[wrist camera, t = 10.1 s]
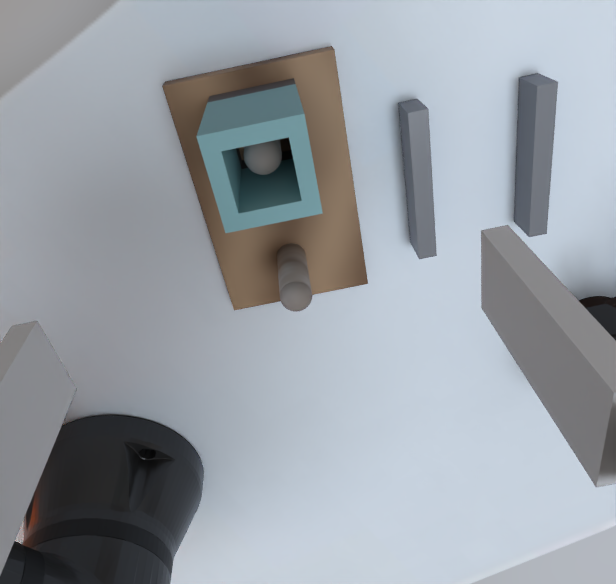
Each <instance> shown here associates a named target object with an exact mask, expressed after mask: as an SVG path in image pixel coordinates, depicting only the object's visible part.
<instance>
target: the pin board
mask: <svg viewBox="0 0 616 584" xmlns="http://www.w3.org/2000/svg"><path fill="white" fill-rule="evenodd" d="M292 78H294V81H295V84H296V87H297V91H298V94H299V97H300V101H301V104H302V107H303V111H304V114H305V119H306V125H307V130H308V136H309V141H310V147H311V152H312V158H313V163H314V169H315V174H316V179H317V185H318V190H319V196H320V201H321V207H322V212H323V214H318V215H313V216H308V217H303V218H298V219H293V220H288V221H284V222H279V223H274V224H269V225H264V226H259V227H254V228H249V229H244V230H240V231H235V232H230V233H225V230H224V226H223V223H222V220H221V216H220V213H219V210H218V206H217V203H216V200H215V196H214V193H213V190H212V186H211V183H210V180H209V177H208V173H207V170H206V167H205V163H204V160H203V157H202V153H201V150H200V147H199V143H198V140H197V137H196V136H197V133H198V130H199V127H200V124H201V121H202V118H203V114H204V111H205V108H206V105H207V102H208V99H209V96H212V95H217V94H222V93H226V92H231V91H236V90H240V89H245V88H250V87H254V86H259V85H264V84H269V83H273V82H278V81H283V80H287V79H292ZM162 87H163V90H164V93H165V96H166V99H167V102H168V105H169V108H170V112H171V115H172V118H173V121H174V124H175V127H176V130H177V133H178V136H179V140H180V143H181V146H182V149H183V152H184V155H185V158H186V161H187V165H188V168H189V171H190V174H191V177H192V180H193V183H194V186H195V189H196V193H197V196H198V199H199V202H200V205H201V208H202V211H203V214H204V218H205V221H206V224H207V227H208V230H209V233H210V236H211V239H212V243H213V246H214V249H215V252H216V255H217V258H218V261H219V264H220V267H221V271H222V274H223V277H224V280H225V283H226V286H227V289H228V292H229V296H230V299H231V302H232V305H233V308H234V310H238V309H243V308H248V307H253V306H258V305H263V304H268V303H273V302H278V301H281V303H282V304H283V306H284V307H285V308H287V309H288V310H291V311H301V310H303V309H305V308H306V307H307V306H308V305H309V304H310V302H311V300H312V295H313V294H318V293H323V292H328V291H333V290H338V289H343V288H348V287H353V286H358V285H363V284H368V281H367V274H366V267H365V260H364V253H363V246H362V239H361V232H360V225H359V218H358V211H357V204H356V197H355V190H354V183H353V176H352V170H351V163H350V156H349V149H348V142H347V135H346V128H345V121H344V114H343V107H342V100H341V93H340V86H339V79H338V72H337V65H336V58H335V51H334V48H333V47H332V46H331V47H326V48H321V49H317V50H312V51H307V52H303V53H298V54H293V55H289V56H284V57H279V58H274V59H270V60H265V61H260V62H256V63H251V64H246V65H242V66H237V67H232V68H228V69H223V70H218V71H214V72H209V73H204V74H200V75H195V76H190V77H186V78H181V79H176V80H172V81H167V82H165V83H164V85H163V86H162ZM239 150H240V154H241V158H242V160H244V161H245V163H246V165H247V167H248V168H249V169H250V170H251V171H252V172H254V173H256V174H259V175H267V174H270V173H272V172H274V171H275V170H276V169H277V168H278V167H279V165H280V163H281V160H282V152H285V151H289V150H291V145H290V140H289V137H288V138H283V139H278V140H274V141H269V142H264V143H259V144H254V145H250V146H245V147H240V148H239Z"/></svg>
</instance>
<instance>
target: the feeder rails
mask: <svg viewBox="0 0 616 584" xmlns="http://www.w3.org/2000/svg"><path fill="white" fill-rule="evenodd" d="M557 87H558V82H557V81H555V80H552V79H550V78H548V77H545V76H543V75H541V74H534V75H529V76H524V77H519V99H518V127H517V155H516V182H515V210H514V222H515V223H516V224H517V225H518V226H519V227H520V228H521V229H522V230H523V231H524V232H525V233H526V234H527V236H528V237H532V236H537V235H542V234H547V221H548V207H549V194H550V181H551V167H552V154H553V140H554V127H555V114H556V100H557ZM398 104H399V116H400V127H401V139H402V151H403V162H404V174H405V186H406V197H407V209H408V221H409V232H410V243H411V245H412V246H413V248H414V250H415V252H416V254H417V256H418V258H419V259H423V258H428V257H433V256H437V255H436V237H435V219H434V201H433V183H432V166H431V148H430V130H429V112H428V108H427V107H426V106H425V105H423V104H422V103H421V102H420V101H419V100H418V99H415V100H410V101H405V102H400V103H398Z"/></svg>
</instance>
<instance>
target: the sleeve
mask: <svg viewBox="0 0 616 584" xmlns="http://www.w3.org/2000/svg"><path fill="white" fill-rule="evenodd" d="M196 137H197V140H198V143H199V147H200V150H201V153H202V157H203V160H204V163H205V167H206V170H207V173H208V177H209V180H210V183H211V186H212V190H213V193H214V196H215V200H216V203H217V206H218V210H219V213H220V216H221V220H222V223H223V226H224V230H225V233H230V232H235V231H240V230H244V229H249V228H254V227H259V226H264V225H269V224H274V223H279V222H284V221H288V220H293V219H298V218H303V217H308V216H313V215H318V214H323V212H322V207H321V201H320V196H319V190H318V185H317V179H316V174H315V169H314V163H313V158H312V152H311V147H310V141H309V136H308V130H307V125H306V119H305V114H304V111H303V107H302V104H301V101H300V97H299V94H298V91H297V87H296V84H295V81H294V78H292V79H287V80H283V81H278V82H273V83H269V84H264V85H259V86H254V87H250V88H245V89H240V90H236V91H231V92H226V93H222V94H217V95H212V96H209V99H208V102H207V105H206V108H205V111H204V114H203V118H202V121H201V124H200V127H199V130H198V133H197V136H196ZM288 137H289V140H290V145H291V150H289V151H285V152H282V160H281V163H280V165H279V167H278V168H277V169H276V170H275V171H274V172H272V173H270V174H267V175H259V174H256V173H254V172H252V171H251V170H250V169H249V168H248V167H247V165H246V163H245V161H244V160H242V158H241V154H240V150H239V148H240V147H245V146H250V145H254V144H259V143H264V142H269V141H274V140H278V139H283V138H288Z"/></svg>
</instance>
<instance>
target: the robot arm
mask: <svg viewBox="0 0 616 584" xmlns="http://www.w3.org/2000/svg"><path fill="white" fill-rule="evenodd" d="M481 302H482V310H483V311H484V313H485V314H486V316H487V317H488V319H489V320H490V322H491V324H492V325H493V327H494V328H495V330H496V331H497V333H498V335H499V336H500V338H501V339H502V341H503V342H504V344H505V345H506V347H507V349H508V350H509V352H510V353H511V355H512V356H513V358H514V360H515V361H516V363H517V364H518V366H519V367H520V369H521V370H522V372H523V374H524V375H525V377H526V378H527V380H528V381H529V383H530V385H531V386H532V388H533V389H534V391H535V392H536V394H537V396H538V397H539V399H540V400H541V402H542V403H543V405H544V406H545V408H546V410H547V411H548V413H549V414H550V416H551V417H552V419H553V421H554V422H555V424H556V425H557V427H558V428H559V430H560V431H561V433H562V435H563V436H564V438H565V439H566V441H567V442H568V444H569V446H570V447H571V449H572V450H573V452H574V453H575V455H576V457H577V458H578V460H579V461H580V463H581V464H582V466H583V467H584V469H585V471H586V472H587V474H588V475H589V477H590V478H591V480H592V482H593V483H594V485H595V486H596V487H601V486H606V485H612V484H616V308H614V307H612V306H610V305H608V304H603V305H598V306H593V307H588V308H585V307H584V306H583V305H582V304H581V303H580V302H579V301H578V300H577V299H576V298H575V297H574V295H573V294H572V293H571V292H570V291H569V290H568V289H567V288H566V287H565V286H564V285H563V284H562V283H561V281H560V280H559V279H558V278H557V277H556V276H555V275H554V274H553V273H552V272H551V271H550V270H549V269H548V268H547V266H546V265H545V264H544V263H543V262H542V261H541V260H540V259H539V258H538V257H537V256H536V255H535V254H534V253H533V251H532V250H531V249H530V248H529V247H528V246H527V245H526V244H525V243H524V242H523V241H522V240H521V239H520V237H519V236H518V235H517V234H516V233H515V232H514V231H513V230H512V229H511V228H510V227H509V226H508V225H505V226H500V227H495V228H490V229H486V230H481ZM76 389H77V388H76V386H75V385H74V383H73V381H72V380H71V378H70V376H69V374H68V373H67V371H66V369H65V368H64V366H63V364H62V362H61V361H60V359H59V357H58V356H57V354H56V352H55V350H54V349H53V347H52V345H51V344H50V342H49V340H48V338H47V337H46V335H45V333H44V332H43V330H42V328H41V326H40V325H39V323H38V321H34V322H29V323H24V324H19V325H14V326H12V327H11V328H10V330H9V331H8V333H7V334H6V336H5V337H4V339H3V340H2V342H1V344H0V584H170V580H171V573H172V566H173V559H174V556H175V554H176V552H177V550H178V548H179V546H180V544H181V542H182V540H183V538H184V536H185V534H186V532H187V530H188V528H189V525H190V523H191V521H192V519H193V517H194V515H195V513H196V511H197V509H198V506H199V504H200V500H201V496H202V487H203V477H204V471H203V465H202V462H201V460H200V457H199V455H198V454H197V452H196V451H195V449H194V448H193V447H192V446H191V445H190V444H189V443H188V442H187V441H186V440H185V439H184V438H182V437H181V436H180V435H178V434H177V433H175V432H174V431H172V430H170V429H168V428H166V427H164V426H162V425H159V424H156V423H154V422H151V421H147V420H143V419H139V418H134V417H126V416H97V417H90V418H85V419H81V420H77V421H74V422H71V423H69V424H66V425H64V426H62V424H63V421H64V419H65V416H66V414H67V411H68V409H69V406H70V404H71V402H72V399H73V397H74V394H75V392H76ZM61 426H62V427H61ZM23 519H24V540H23V544H20V543H18V542H16V541H15V539H16V536H17V534H18V531H19V529H20V526H21V524H22V521H23Z"/></svg>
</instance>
